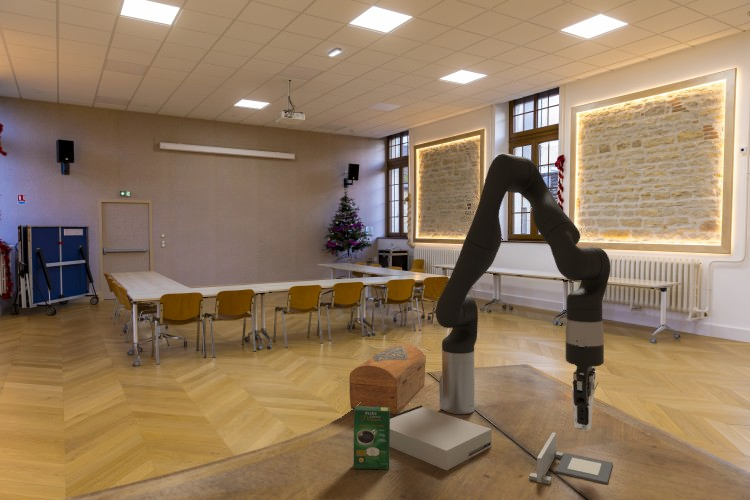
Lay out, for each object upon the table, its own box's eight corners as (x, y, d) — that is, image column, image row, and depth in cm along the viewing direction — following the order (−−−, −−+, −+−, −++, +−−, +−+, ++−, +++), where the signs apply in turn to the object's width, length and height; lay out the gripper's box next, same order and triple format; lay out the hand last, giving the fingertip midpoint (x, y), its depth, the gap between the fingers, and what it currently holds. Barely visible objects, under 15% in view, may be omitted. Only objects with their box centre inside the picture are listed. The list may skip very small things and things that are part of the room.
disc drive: (420, 423, 134) (420, 404, 134) (492, 448, 118) (492, 427, 118) (373, 442, 122) (373, 422, 122) (446, 473, 106) (446, 450, 106)
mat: (555, 472, 104) (555, 470, 104) (564, 454, 113) (564, 452, 113) (607, 484, 99) (607, 481, 99) (612, 464, 108) (612, 462, 108)
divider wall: (529, 480, 101) (529, 455, 101) (545, 452, 114) (545, 430, 114) (549, 484, 99) (549, 460, 99) (563, 456, 112) (563, 434, 112)
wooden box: (381, 380, 173) (381, 341, 173) (427, 385, 167) (427, 344, 166) (344, 409, 145) (343, 362, 145) (397, 416, 139) (396, 367, 139)
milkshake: (600, 432, 103) (600, 385, 103) (573, 431, 104) (573, 384, 104) (595, 424, 108) (595, 379, 107) (569, 423, 109) (569, 378, 109)
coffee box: (391, 464, 109) (390, 405, 109) (390, 470, 106) (389, 410, 106) (354, 463, 110) (353, 405, 109) (353, 469, 107) (352, 409, 106)
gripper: (571, 333, 113) (571, 407, 114) (559, 345, 101) (559, 428, 102) (607, 336, 110) (607, 413, 110) (599, 349, 97) (599, 435, 98)
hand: (584, 419), depth 106 cm, fingers closed on milkshake, 4 cm apart
